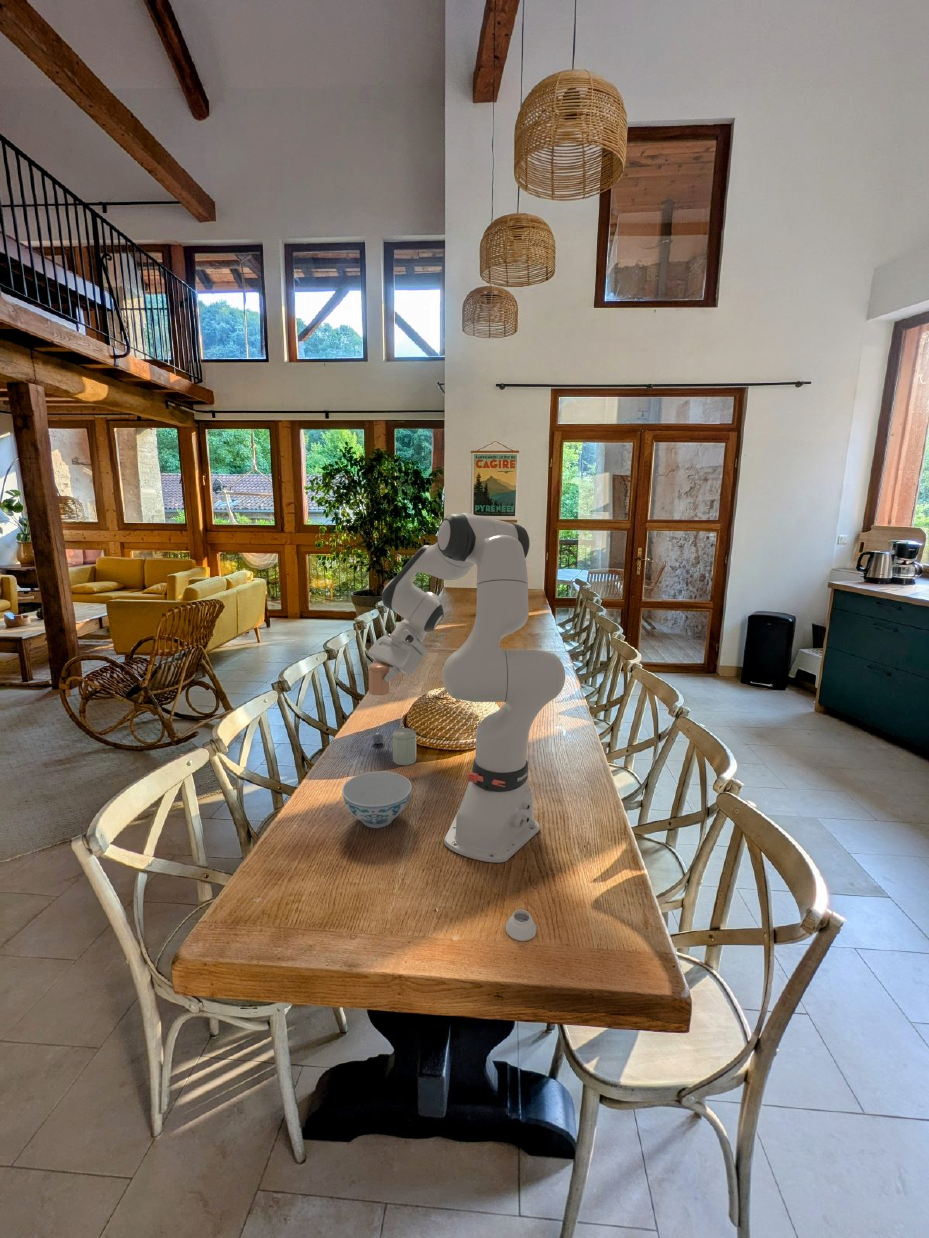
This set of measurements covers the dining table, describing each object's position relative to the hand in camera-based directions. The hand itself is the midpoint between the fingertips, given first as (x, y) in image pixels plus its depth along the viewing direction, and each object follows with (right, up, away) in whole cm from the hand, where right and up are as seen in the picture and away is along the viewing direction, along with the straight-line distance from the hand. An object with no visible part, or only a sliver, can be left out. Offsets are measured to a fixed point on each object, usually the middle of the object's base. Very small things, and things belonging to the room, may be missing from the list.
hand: (377, 677), depth 165 cm
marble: (0, -17, -2) cm, 18 cm away
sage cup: (+9, -21, -12) cm, 26 cm away
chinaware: (+6, -27, -40) cm, 49 cm away
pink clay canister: (0, -4, +1) cm, 5 cm away
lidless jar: (+35, -35, -71) cm, 87 cm away
